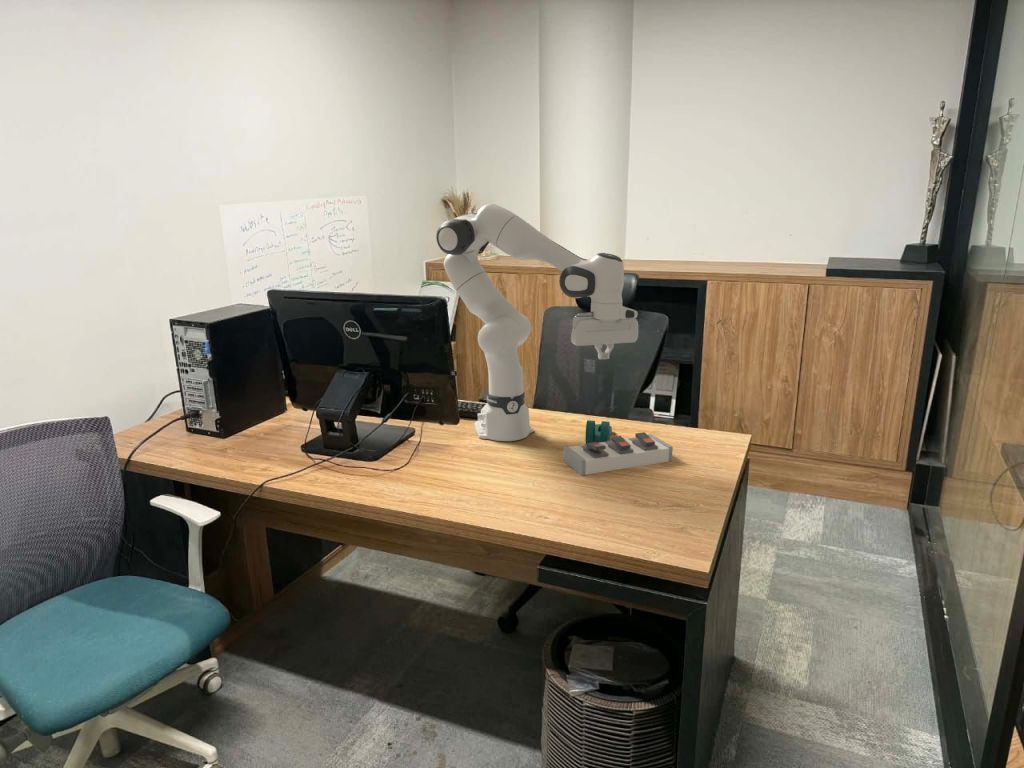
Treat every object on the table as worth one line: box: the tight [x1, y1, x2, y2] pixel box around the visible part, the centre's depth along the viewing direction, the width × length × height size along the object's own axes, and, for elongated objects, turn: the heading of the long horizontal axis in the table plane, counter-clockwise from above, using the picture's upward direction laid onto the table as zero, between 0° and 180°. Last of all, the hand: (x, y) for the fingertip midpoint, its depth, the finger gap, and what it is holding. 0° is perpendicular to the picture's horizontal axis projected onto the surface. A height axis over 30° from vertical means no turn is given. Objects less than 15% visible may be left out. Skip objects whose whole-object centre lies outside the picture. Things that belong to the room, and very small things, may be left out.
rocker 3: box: [634, 431, 655, 446], centre depth 204 cm, size 6×3×1 cm, turn 21°
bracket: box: [584, 420, 613, 445], centre depth 221 cm, size 18×7×8 cm, turn 167°
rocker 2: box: [610, 435, 631, 450], centre depth 201 cm, size 6×3×1 cm, turn 21°
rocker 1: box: [586, 442, 606, 451], centre depth 198 cm, size 6×3×1 cm, turn 21°
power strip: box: [563, 433, 674, 476], centre depth 203 cm, size 12×29×5 cm, turn 111°
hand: (603, 358), depth 203 cm, fingers closed
